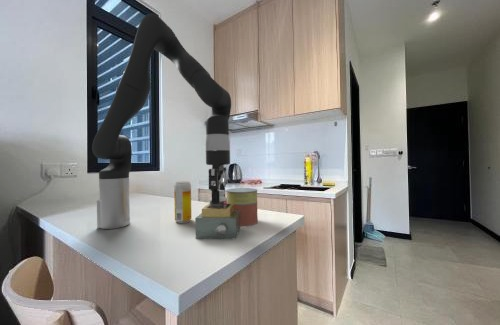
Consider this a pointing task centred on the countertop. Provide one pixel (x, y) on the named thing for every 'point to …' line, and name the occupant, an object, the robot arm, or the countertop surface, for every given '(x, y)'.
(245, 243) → the countertop surface
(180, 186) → the beer can
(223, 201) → the pill bottle
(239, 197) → the canned food
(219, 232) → the gold grey hollow block
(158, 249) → the countertop surface
